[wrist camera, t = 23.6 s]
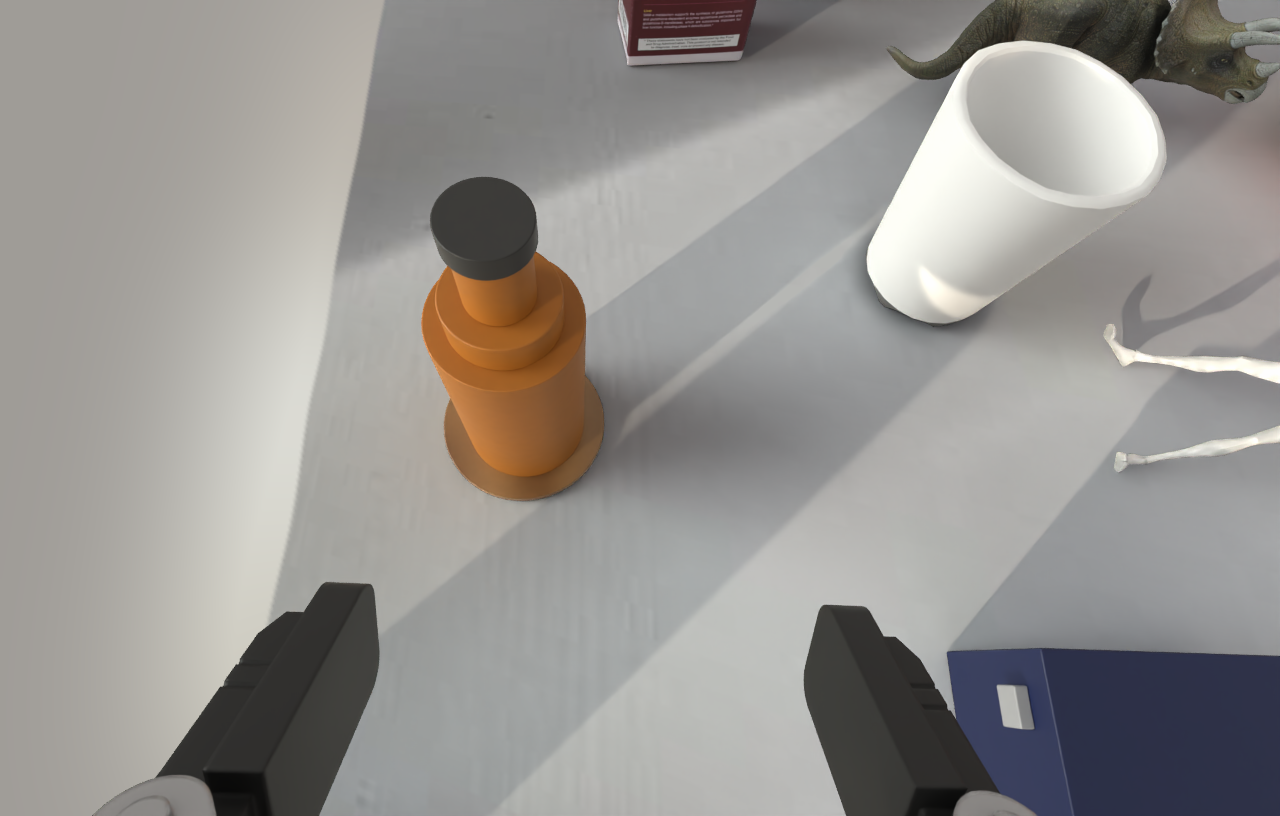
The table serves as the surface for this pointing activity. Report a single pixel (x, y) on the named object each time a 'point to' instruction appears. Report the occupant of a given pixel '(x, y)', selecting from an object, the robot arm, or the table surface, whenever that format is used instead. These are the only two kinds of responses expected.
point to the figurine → (1248, 365)
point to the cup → (1012, 178)
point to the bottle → (505, 329)
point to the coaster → (532, 485)
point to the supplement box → (684, 30)
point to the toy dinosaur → (1125, 41)
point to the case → (1124, 730)
